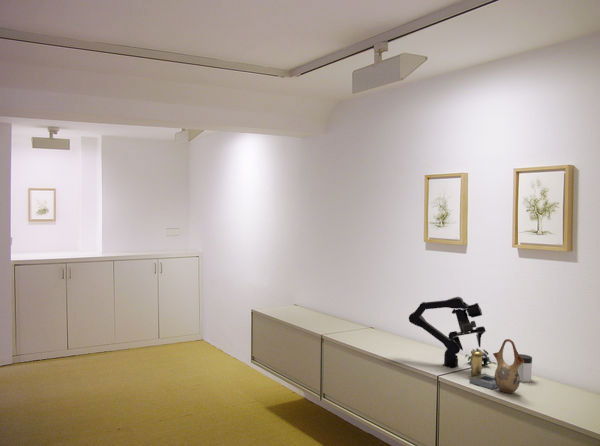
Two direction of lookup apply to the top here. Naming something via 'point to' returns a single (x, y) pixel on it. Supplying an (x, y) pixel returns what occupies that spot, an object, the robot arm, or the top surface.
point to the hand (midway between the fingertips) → (471, 348)
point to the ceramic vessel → (507, 370)
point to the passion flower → (484, 357)
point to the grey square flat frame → (484, 381)
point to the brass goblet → (476, 363)
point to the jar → (525, 368)
